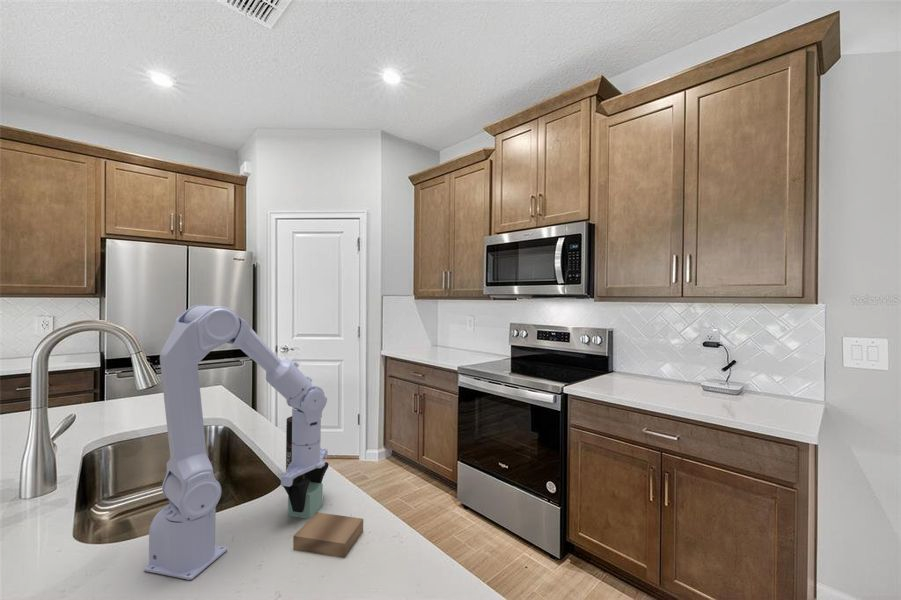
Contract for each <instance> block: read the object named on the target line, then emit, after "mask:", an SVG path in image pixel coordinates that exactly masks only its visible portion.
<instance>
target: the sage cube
mask: <svg viewBox="0 0 901 600" xmlns="http://www.w3.org/2000/svg"><path fill="white" fill-rule="evenodd" d="M323 493H324V490H323V483H314V482H310V483H309V486H308V488H307V492H306V497H305V506H304V510H303V512H301V513H300V512H293V510H292V506H291V502H290V499H289V496H287V497H288V498H287V516H288V517H295V518H303V519H308V520H309V519H310V518H311V517H312V516H313V515H314V514H315V513H316V512H318V511H320V509H322V507H323V495H324V494H323Z"/></svg>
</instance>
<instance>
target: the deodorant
mask: <svg viewBox="0 0 901 600" xmlns="http://www.w3.org/2000/svg"><path fill="white" fill-rule="evenodd" d="M285 435H286V437H285V438H286V439H285V441H286V443H285V445H286V446H285V471H286V470H287V468H288V467H289V465H290V463H291V462H292V415H291V416H289V417H287V418H286V434H285ZM302 477H303V479H305V475H304V474H302Z"/></svg>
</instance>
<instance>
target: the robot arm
mask: <svg viewBox="0 0 901 600" xmlns="http://www.w3.org/2000/svg"><path fill="white" fill-rule="evenodd" d="M173 327H174V328H173V329H172V331H171V333H169V336H168V338H167V340H166V342H165V344H164V345H163V347H162V349H161V350H160V353H159V364H160V372H161V373H160V374H161V382H162V384H161V385H162V392H163V400H164V408H165V409H164V411H165V417H166V418H165V420H166V429H167V439H168V448H169V455H170V456H169V457H170V458H169V459H168V460H167V461H166V464H165V466H166V474H165V477H164V479H163V482H162V485H161V490H162V491H161V492H162V493H163V496H164V497H165V498H167V499H168V500H169V503H168V505H166V506H165V507H163V508H162V509H160V510H159V511H158V512H157V513H156V515H155V516H154V517H153V518H152V521H151V523H150V525H149V530H148V564H147V565H145V566H144V567H143V571H145V572H148V573H149V572H150V573H153V574H158V575H164V576H169V577H174V578H179V579H183V580H184V579H185V580H193V579H194V578H196V577H197V576H198V575H199V574H200V573H202V572H203V571H204V570H206V568H207V567H209V566H210V565H211V564H212V563H214V562H215V561H216V560H217V559H218V558H220V557H221V556H222V555H223V554H225V552H227V551H228V547H227V546H225V545H224V546H223V545H218V544H217V545H216V522H217V521H216V518H217V517H216V515H217V514H216V511H217V509H216V508H217V507H216V506H217V505H218V503H219V501H220V499H221V496H222V486H221V483H220V482H219V481H218V480H217V479H216V478H215V475H214V468H213V465H212V463H211V461H210V459H209V457H208V454H207V453H208V452H207V446H206V434H205V427H204V426H205V425H204V424H205V423H204V415H203V407H202V406H203V405H202V394H201V387H200V386H201V385H200V376H199V375H200V374H199V367H198V366H199V363H200V362H201V361H202V360H203V359H204V358H206V356H207V355H208V354H210V353H211V352H212V351H213V350H216V349H217V348H218V347H221V346H223V345H225V344H230V345H233V346H236V347H237V348H239V350H241V352H243V353H244V354H245V355H246V356H248V357H249V358H250V359H251V360H252V361H254V362H255V363H256V365H259V367H260V368H262V369H263V370H264V371H265V380H266V382H267V383H268V384H269V385H270V386H271V387H272V388H274V390H276V391H277V392H278V393H279V394H280V396H282V397H283V398H284V399H285V400H286V404H287V406H288V407H291V408H292V410H291V411H292V415H291V416H292V462H291V463H290V465H289V467H288V468H287V470H286V469H285V472H284V473H283V474H282V475H281V476H280V486H281V487H283V488H284V490H285V493H286V494H287V495H288V496H289V499H290V502H291V506H292V510H293V512H300V513H301V512H303V510H304V506H305V497H306V492H307V488H308V486H309V483H310V482H314V483H322V482H323V479H324V476H325V474H326V471H328V468H329V462H327V461H325V460H326V459H327V458H328V452H329V451H328V448H323V447H322V448H321V438H322V437H321V436H322V435H321V434H322V431H321V430H322V427H321V426H322V425H321V423H322V422H321V421H322V417H323V411H324V409H325V407H326V405H327V404H328V403H327V402H328V397H326V396H325V392H324V390H323V388H321V387H319V386H316V385H313V383H312V382H313V378H311V377H310V376H306V375H305V374H304V373H303V372H302V371H301V370H300V368H298V367H299V366H300V364H299V363H298V362H296V361H294V360H290V359H287V358H286V359H285V358H284V359H280V358H279V357H278V355H276V353H275V352H274V351H272V349H271V348H270V347H269V346H268V345H267V344H266V342H265V341H264V340H263V339H262V338H261V337H260V336H259V335H258V333H256V331H254V329H253V328H252V327H251V326H250V324H249V323H248V322H247V321H246V320H245V319H243V318H242V317H240V316H239V315H238V314H237V313H236V312H235V310H233V309H232V308H229V307H227V306H222V305H219V306H218V305H216V306H215V305H214V306H212V305H208V304H196V305H193V306H191V307H189V308H187V310H185V311H184V312H183V313H181V315H179V316H178V317H177V318H176V319H175V323H174V326H173ZM302 474H304V475H305V479H303V477H302ZM322 484H323V483H322ZM288 496H287V497H288Z"/></svg>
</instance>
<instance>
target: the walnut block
mask: <svg viewBox="0 0 901 600" xmlns="http://www.w3.org/2000/svg"><path fill="white" fill-rule="evenodd" d="M363 533H364V518H360V517H354V516H348V515H347V516H346V515H341V514H332V513H325V512H318V511H317V512H316V513H315V514H314V515H313V516H312V517H311V518H310V519H308V521H306V522H305V523H304V524H303V525H302V526H301V527H300V528H299V530H297V532H296V533H295V534H294V535H293V544H292V545H293V547H292V548H293V551H297V552H304V553H309V554H310V553H311V554H317V555H321V556H322V555H324V556H328V557H336V558H341V559H346V557H347V555H348V554H349V553H350V552H351V549H352V548H353V547H354V546H355V544H357V543H356V542H357V541H358V539H360V537H361V536H362V534H363Z"/></svg>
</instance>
